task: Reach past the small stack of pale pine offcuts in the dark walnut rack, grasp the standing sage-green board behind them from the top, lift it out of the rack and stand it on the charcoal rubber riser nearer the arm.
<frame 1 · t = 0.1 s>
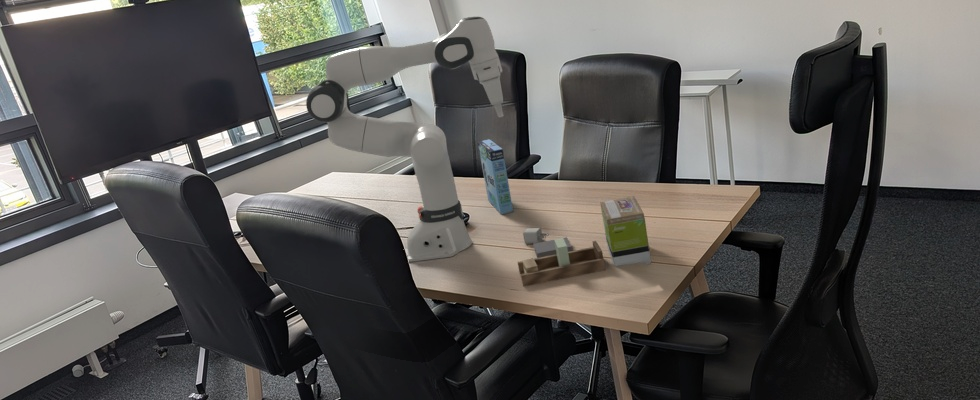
hand: (499, 113, 227), 39 cm above the table, tool pointing down, fingers open, 8 cm apart
blue cardboard box: (501, 206, 269), on the table
offcut top: (531, 269, 200), point 3 cm above the table, touching offcut low
offcut low: (532, 276, 200), point 1 cm above the table, touching offcut top, rack
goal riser: (553, 254, 215), on the table
rack: (562, 274, 201), on the table
tall board: (565, 270, 200), point 1 cm above the table, touching rack
tea box: (628, 257, 204), on the table
usb wall charger: (537, 242, 227), on the table
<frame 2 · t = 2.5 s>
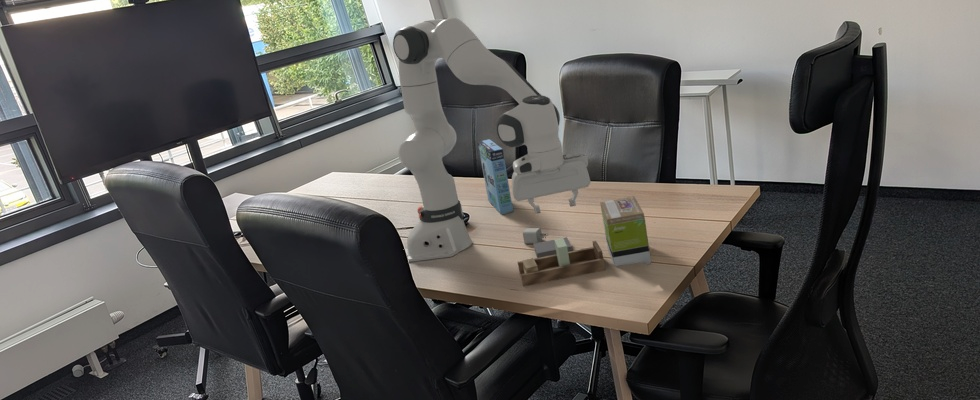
hand: (555, 209, 195), 18 cm above the table, tool pointing down, fingers open, 8 cm apart
nothing on the table moved.
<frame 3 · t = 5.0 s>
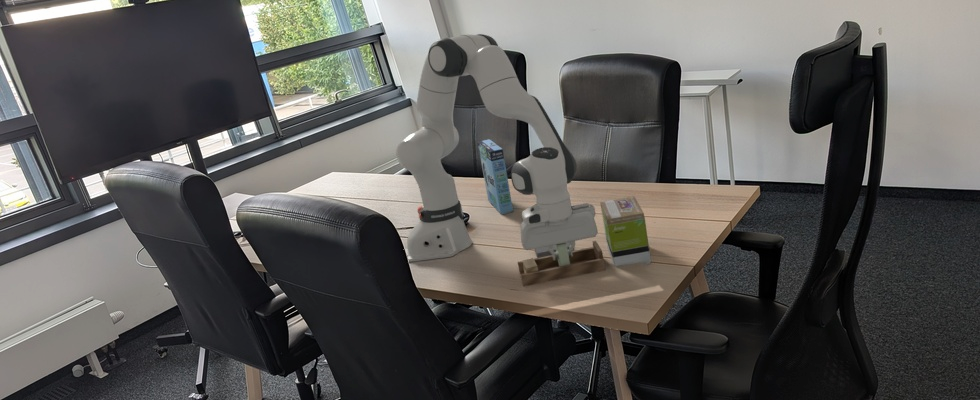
hand: (562, 257, 199), 5 cm above the table, tool pointing down, fingers closed on tall board, 2 cm apart
tall board: (565, 270, 200), point 1 cm above the table, touching gripper, rack
everything else where it was.
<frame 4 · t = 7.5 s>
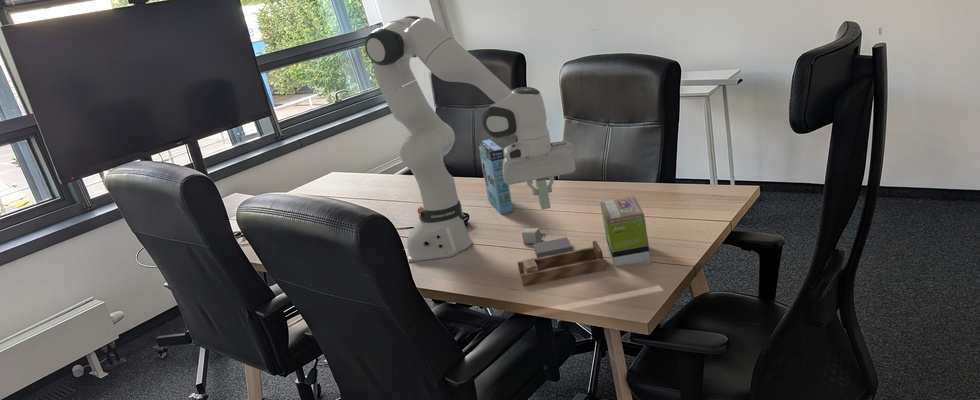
hand: (542, 193, 210), 19 cm above the table, tool pointing down, fingers closed on tall board, 2 cm apart
tall board: (544, 205, 211), point 15 cm above the table, touching gripper
everything else where it was.
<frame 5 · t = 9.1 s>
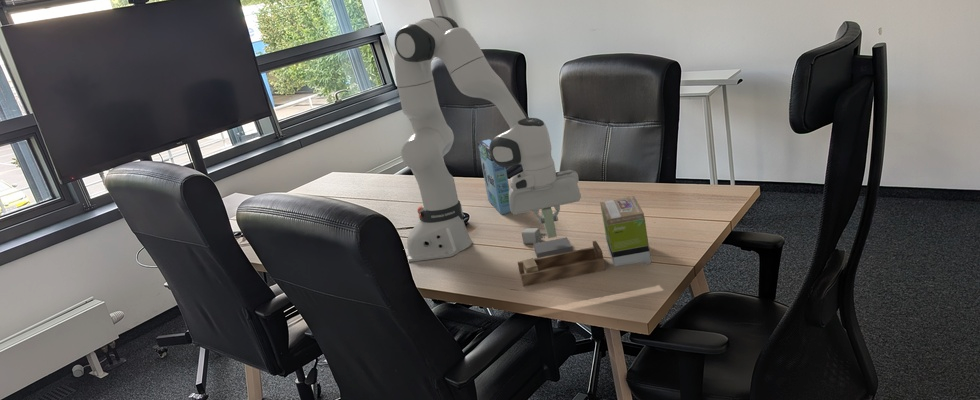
hand: (548, 221, 212), 10 cm above the table, tool pointing down, fingers closed on tall board, 2 cm apart
tall board: (550, 233, 213), point 7 cm above the table, touching gripper
everything else where it was.
when the fingers open (8 cm above the table, at t = 10.2 s): tall board stays where it is, resting on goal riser.
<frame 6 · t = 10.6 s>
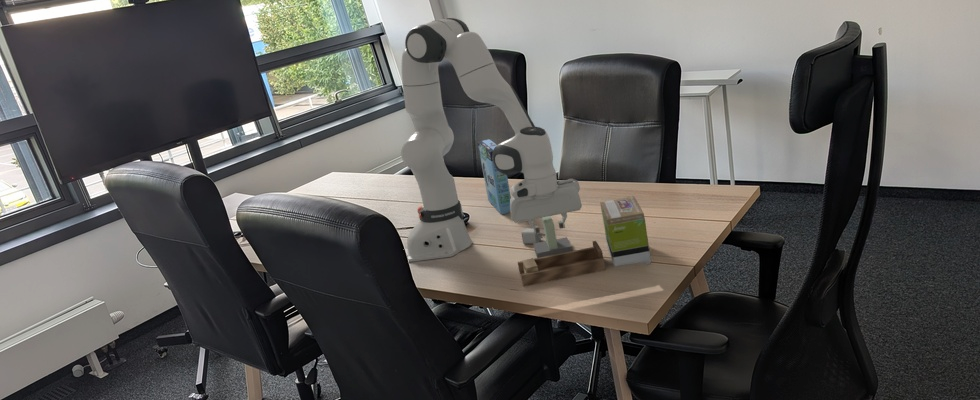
hand: (549, 230, 213), 8 cm above the table, tool pointing down, fingers open, 6 cm apart
tall board: (551, 245, 214), point 3 cm above the table, touching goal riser
everything else where it was.
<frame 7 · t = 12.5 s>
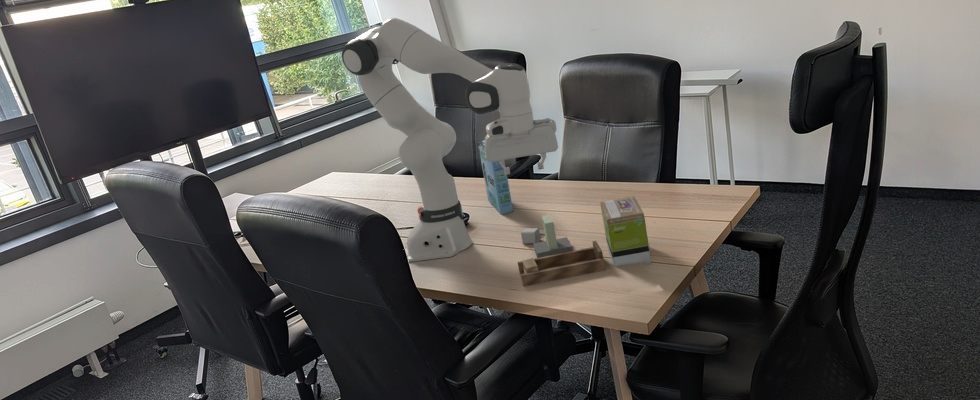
hand: (524, 171, 208), 26 cm above the table, tool pointing down, fingers open, 8 cm apart
nothing on the table moved.
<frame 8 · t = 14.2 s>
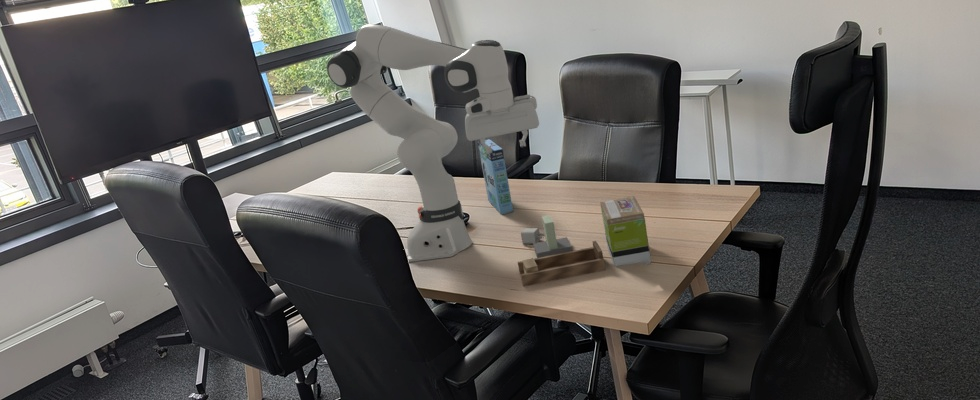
hand: (506, 149, 205), 33 cm above the table, tool pointing down, fingers open, 8 cm apart
nothing on the table moved.
at the end: tall board inside the target area on the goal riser (0.1 cm from its centre), point 3.0 cm above the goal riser's base; the gripper is holding nothing; offcut top moved 0.1 cm from its start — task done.
